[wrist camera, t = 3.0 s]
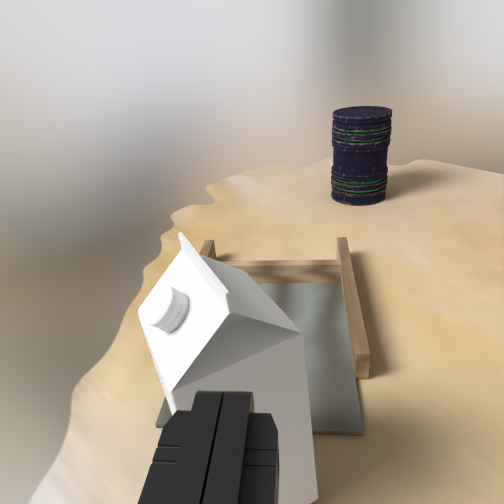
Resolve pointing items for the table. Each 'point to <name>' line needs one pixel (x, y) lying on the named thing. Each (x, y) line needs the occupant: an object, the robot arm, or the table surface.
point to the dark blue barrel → (360, 154)
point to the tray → (317, 332)
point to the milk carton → (233, 354)
